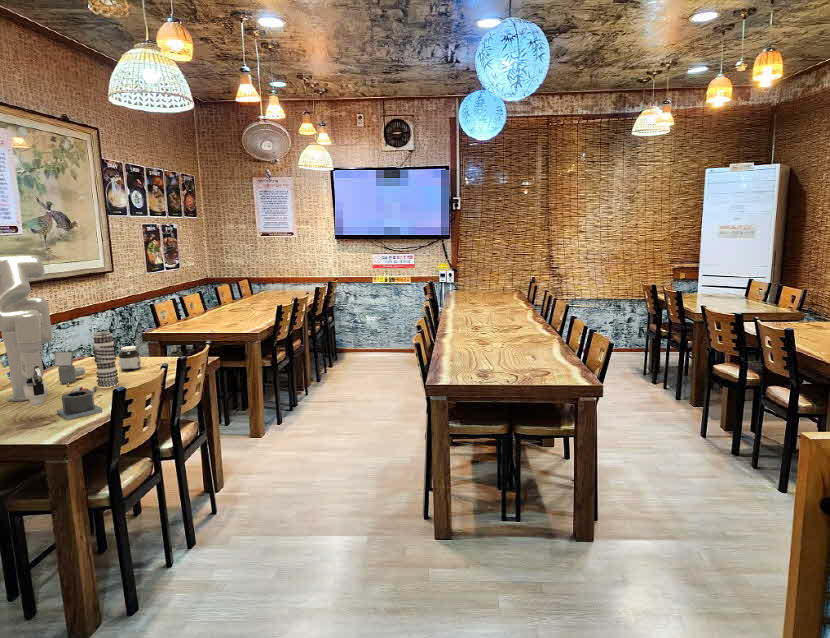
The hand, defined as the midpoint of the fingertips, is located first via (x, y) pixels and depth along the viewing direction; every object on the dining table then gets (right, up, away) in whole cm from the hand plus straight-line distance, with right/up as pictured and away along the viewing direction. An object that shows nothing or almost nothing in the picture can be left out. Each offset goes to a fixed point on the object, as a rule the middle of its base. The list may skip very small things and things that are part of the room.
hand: (36, 392), depth 208 cm
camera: (-20, -2, +54) cm, 58 cm away
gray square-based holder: (+12, -9, +7) cm, 17 cm away
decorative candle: (+3, -3, +44) cm, 44 cm away
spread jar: (-4, +2, +75) cm, 75 cm away
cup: (0, -4, +1) cm, 4 cm away
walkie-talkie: (0, -6, +29) cm, 30 cm away
